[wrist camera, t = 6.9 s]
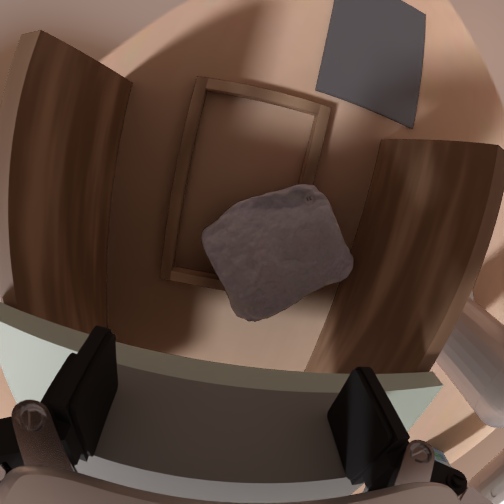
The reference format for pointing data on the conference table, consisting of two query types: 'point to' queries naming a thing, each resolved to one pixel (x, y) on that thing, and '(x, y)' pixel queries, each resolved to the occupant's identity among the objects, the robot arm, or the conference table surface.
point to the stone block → (276, 250)
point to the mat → (375, 57)
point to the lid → (205, 418)
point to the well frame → (99, 199)
